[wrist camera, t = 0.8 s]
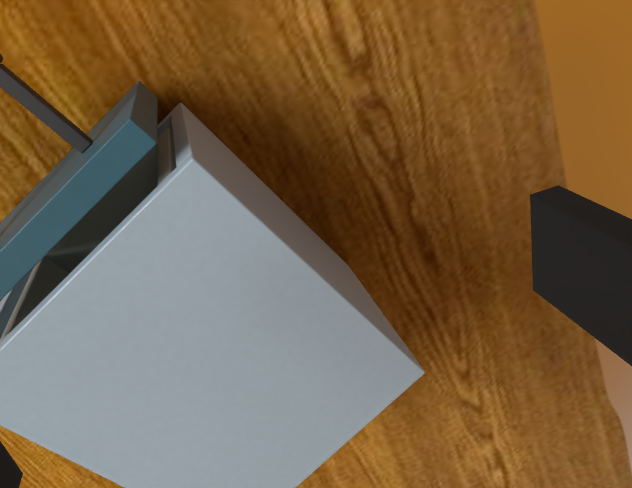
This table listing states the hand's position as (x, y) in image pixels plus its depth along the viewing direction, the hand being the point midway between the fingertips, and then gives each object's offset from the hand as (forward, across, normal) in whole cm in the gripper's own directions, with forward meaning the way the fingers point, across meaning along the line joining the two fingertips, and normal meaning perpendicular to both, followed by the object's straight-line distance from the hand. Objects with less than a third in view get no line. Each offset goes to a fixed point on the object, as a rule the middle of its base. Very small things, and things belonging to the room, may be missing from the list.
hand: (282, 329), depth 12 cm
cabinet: (+20, -3, -7) cm, 21 cm away
